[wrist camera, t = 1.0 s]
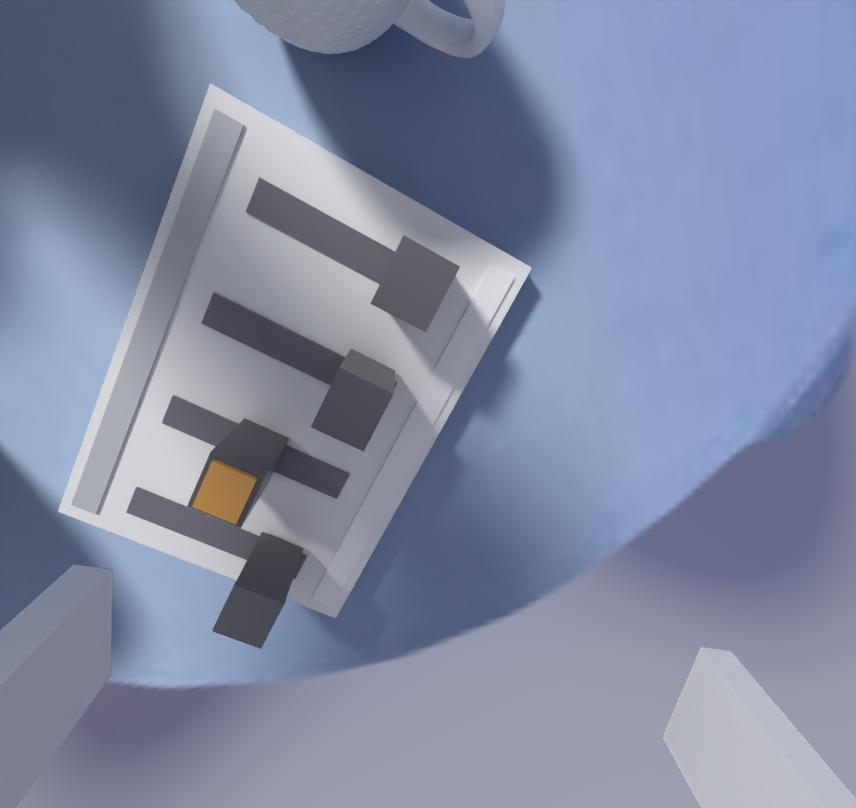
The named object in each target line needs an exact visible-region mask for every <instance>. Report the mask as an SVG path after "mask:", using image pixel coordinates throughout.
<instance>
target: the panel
mask: <svg viewBox="0 0 856 808" xmlns="http://www.w3.org/2000/svg"><path fill="white" fill-rule="evenodd" d="M403 235H404V236H406V237H408V238H410V239H411V240H413V241H415V242H417V243H419V244H420V245H422V246H424V247H426V248H428V249H429V250H431V251H433V252H435V253H437V254H438V255H440V256H442V257H444V258H446V259H447V260H449V261H451V262H453V263H455V264H456V265H458V266H460V268H459V270H458V272H457V274H456V276H455V278H454V280H453V281H452V283H451V285H450V287H449V289H448V291H447V293H446V295H445V297H444V299H443V301H442V303H441V304H440V306H439V308H438V310H437V312H436V314H435V316H434V318H433V320H432V322H431V324H430V326H429V327H428V329H427V331H426V332H424V331H422V330H420V329H418V328H416V327H414V326H412V325H410V324H408V323H406V322H405V321H403V320H401V319H399V318H397V317H395V316H393V315H391V314H389V313H387V312H385V311H383V310H381V309H380V308H378V307H376V306H374V305H372V304H370V303H371V301H372V299H373V297H374V295H375V293H376V291H377V289H378V287H379V285H380V283H381V281H382V279H383V276H384V274H385V272H386V270H387V268H388V266H389V264H390V262H391V260H392V258H393V256H394V254H395V252H396V250H397V248H398V245H399V243H400V241H401V239H402V237H403ZM531 269H532V267H530V266H528V265H526V264H525V263H523V262H521V261H519V260H518V259H516V258H514V257H512V256H511V255H509V254H507V253H505V252H504V251H502V250H500V249H498V248H497V247H495V246H493V245H491V244H490V243H488V242H486V241H484V240H483V239H481V238H479V237H477V236H476V235H474V234H472V233H470V232H469V231H467V230H465V229H463V228H462V227H460V226H458V225H456V224H455V223H453V222H451V221H450V220H448V219H446V218H444V217H443V216H441V215H439V214H437V213H436V212H434V211H432V210H430V209H429V208H427V207H425V206H423V205H422V204H420V203H418V202H416V201H415V200H413V199H411V198H409V197H408V196H406V195H404V194H402V193H401V192H399V191H397V190H395V189H394V188H392V187H390V186H388V185H387V184H385V183H383V182H381V181H380V180H378V179H376V178H374V177H373V176H371V175H369V174H368V173H366V172H364V171H362V170H361V169H359V168H357V167H355V166H354V165H352V164H350V163H348V162H347V161H345V160H343V159H341V158H340V157H338V156H336V155H334V154H333V153H331V152H329V151H327V150H326V149H324V148H322V147H320V146H319V145H317V144H315V143H313V142H312V141H310V140H308V139H306V138H305V137H303V136H301V135H299V134H298V133H296V132H294V131H292V130H291V129H289V128H287V127H285V126H284V125H282V124H280V123H279V122H277V121H275V120H273V119H272V118H270V117H268V116H266V115H265V114H263V113H261V112H259V111H258V110H256V109H254V108H252V107H251V106H249V105H247V104H245V103H244V102H242V101H240V100H238V99H237V98H235V97H233V96H231V95H230V94H228V93H226V92H224V91H223V90H221V89H219V88H217V87H216V86H214V85H212V84H210V85H209V88H208V91H207V93H206V96H205V99H204V102H203V105H202V107H201V110H200V113H199V116H198V119H197V122H196V124H195V127H194V130H193V133H192V136H191V138H190V141H189V144H188V147H187V150H186V152H185V155H184V158H183V161H182V164H181V166H180V169H179V172H178V175H177V178H176V181H175V183H174V186H173V189H172V192H171V195H170V197H169V200H168V203H167V206H166V209H165V211H164V214H163V217H162V220H161V223H160V226H159V228H158V231H157V234H156V237H155V240H154V242H153V245H152V248H151V251H150V254H149V256H148V259H147V262H146V265H145V268H144V271H143V273H142V276H141V279H140V282H139V285H138V287H137V290H136V293H135V296H134V299H133V301H132V304H131V307H130V310H129V313H128V315H127V318H126V321H125V324H124V327H123V330H122V332H121V335H120V338H119V341H118V344H117V346H116V349H115V352H114V355H113V358H112V360H111V363H110V366H109V369H108V372H107V375H106V377H105V380H104V383H103V386H102V389H101V391H100V394H99V397H98V400H97V403H96V405H95V408H94V411H93V414H92V417H91V419H90V422H89V425H88V428H87V431H86V434H85V436H84V439H83V442H82V445H81V448H80V450H79V453H78V456H77V459H76V462H75V464H74V467H73V470H72V473H71V476H70V479H69V481H68V484H67V487H66V490H65V493H64V495H63V498H62V501H61V504H60V507H59V509H58V512H60V513H63V514H65V515H68V516H71V517H73V518H76V519H78V520H81V521H84V522H86V523H89V524H91V525H94V526H97V527H99V528H102V529H104V530H107V531H110V532H112V533H115V534H117V535H120V536H123V537H125V538H128V539H130V540H133V541H136V542H138V543H141V544H143V545H146V546H149V547H151V548H154V549H156V550H159V551H162V552H164V553H167V554H169V555H172V556H175V557H177V558H180V559H182V560H185V561H188V562H190V563H193V564H195V565H198V566H201V567H203V568H206V569H208V570H211V571H214V572H216V573H219V574H221V575H224V576H227V577H229V578H232V579H234V580H237V579H238V577H239V575H240V573H241V571H242V569H243V567H244V565H245V563H246V562H247V560H248V558H249V556H250V554H251V552H252V550H253V548H254V546H255V544H256V542H257V541H258V539H259V537H260V535H261V533H262V532H264V533H267V534H269V535H272V536H274V537H277V538H279V539H281V540H284V541H286V542H289V543H291V544H294V545H296V546H299V547H301V548H304V549H303V552H302V554H301V557H300V560H299V563H298V566H297V569H296V572H295V575H294V577H293V580H292V583H291V586H290V589H289V592H288V595H287V598H286V600H289V601H291V602H294V603H297V604H299V605H302V606H304V607H307V608H310V609H312V610H315V611H317V612H320V613H323V614H325V615H328V616H330V617H333V618H336V617H337V615H338V614H339V612H340V610H341V608H342V606H343V605H344V603H345V601H346V599H347V597H348V596H349V594H350V592H351V590H352V588H353V587H354V585H355V583H356V581H357V580H358V578H359V576H360V574H361V572H362V571H363V569H364V567H365V565H366V563H367V562H368V560H369V558H370V556H371V555H372V553H373V551H374V549H375V547H376V546H377V544H378V542H379V540H380V538H381V537H382V535H383V533H384V531H385V530H386V528H387V526H388V524H389V522H390V521H391V519H392V517H393V515H394V513H395V512H396V510H397V508H398V506H399V505H400V503H401V501H402V499H403V497H404V496H405V494H406V492H407V490H408V488H409V487H410V485H411V483H412V481H413V479H414V478H415V476H416V474H417V472H418V471H419V469H420V467H421V465H422V463H423V462H424V460H425V458H426V456H427V454H428V453H429V451H430V449H431V447H432V446H433V444H434V442H435V440H436V438H437V437H438V435H439V433H440V431H441V429H442V428H443V426H444V424H445V422H446V421H447V419H448V417H449V415H450V413H451V412H452V410H453V408H454V406H455V404H456V403H457V401H458V399H459V397H460V396H461V394H462V392H463V390H464V388H465V387H466V385H467V383H468V381H469V379H470V378H471V376H472V374H473V372H474V371H475V369H476V367H477V365H478V363H479V362H480V360H481V358H482V356H483V354H484V353H485V351H486V349H487V347H488V345H489V344H490V342H491V340H492V338H493V337H494V335H495V333H496V331H497V329H498V328H499V326H500V324H501V322H502V320H503V319H504V317H505V315H506V313H507V312H508V310H509V308H510V306H511V304H512V303H513V301H514V299H515V297H516V295H517V294H518V292H519V290H520V288H521V287H522V285H523V283H524V281H525V279H526V278H527V276H528V274H529V272H530V270H531ZM350 349H353V350H355V351H357V352H359V353H361V354H363V355H365V356H367V357H369V358H371V359H373V360H375V361H377V362H379V363H381V364H383V365H385V366H387V367H389V368H391V369H393V370H395V383H394V395H393V396H392V398H391V400H390V402H389V404H388V406H387V408H386V410H385V412H384V414H383V416H382V418H381V419H380V421H379V423H378V425H377V427H376V429H375V431H374V433H373V435H372V437H371V439H370V441H369V442H368V444H367V446H366V448H365V450H364V452H363V451H361V450H359V449H357V448H355V447H353V446H350V445H348V444H346V443H344V442H342V441H339V440H337V439H335V438H333V437H331V436H329V435H326V434H324V433H322V432H320V431H318V430H315V429H313V428H311V425H312V423H313V421H314V419H315V417H316V415H317V413H318V411H319V409H320V407H321V405H322V403H323V400H324V398H325V396H326V394H327V392H328V390H329V388H330V386H331V384H332V382H333V380H334V378H335V376H336V374H337V372H338V369H339V367H340V366H341V364H342V362H343V361H344V359H345V358H346V356H347V354H348V353H349V351H350ZM244 418H246V419H248V420H250V421H252V422H254V423H257V424H259V425H261V426H263V427H266V428H268V429H270V430H272V431H274V432H277V433H279V434H281V435H283V436H286V437H288V438H290V439H289V441H288V443H287V445H286V447H285V449H284V451H283V453H282V455H281V458H280V460H279V462H278V464H277V466H276V468H275V470H274V472H273V474H272V476H271V479H270V481H269V483H268V485H267V486H266V488H265V489H264V491H263V493H262V494H261V496H260V498H259V499H258V501H257V503H256V504H255V506H254V507H253V509H252V511H251V512H250V514H249V516H248V517H247V519H246V521H245V522H244V524H243V525H242V527H241V528H239V527H236V526H234V525H231V524H229V523H226V522H224V521H221V520H219V519H216V518H214V517H211V516H209V515H207V514H204V513H202V512H199V511H197V510H194V509H192V508H189V507H187V505H188V503H189V500H190V498H191V496H192V493H193V491H194V489H195V487H196V484H197V482H198V480H199V477H200V475H201V473H202V470H203V468H204V466H205V463H206V461H207V459H208V456H209V454H210V452H211V451H212V450H213V449H214V448H215V447H216V446H217V445H218V444H219V443H220V442H221V441H222V440H223V439H224V438H225V437H226V436H227V435H228V434H229V433H230V432H231V431H232V430H233V429H234V428H235V427H236V426H237V425H238V424H239V423H240V422H241V421H242V420H243V419H244Z"/></svg>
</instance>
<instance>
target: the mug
mask: <svg viewBox="0 0 856 808" xmlns="http://www.w3.org/2000/svg"><path fill="white" fill-rule="evenodd" d="M235 1H236V2H237V4H238V5H239V7H240V8H241V9H242V10H244V11H245V12H247V13H249V14H250V15H251V16H252V17H253V19H254V20H255V21H256V22H257V23H259V24H260V25H263V26H265V27H266V28H267V30H268V31H269V32H271V33H273V34H275V35H278V36H279V37H280V38H281V39H282V40H285V41H286V42H287V43H292V44H293V45H294V46H297V47H299V48H301V49H306V50H308V51H310V52H318V53H322V54H333V53H336V54H341V53H343V52H346V53H347V52H349V51H355V50H357V49H358V48H361V47H363V46H365V45H368V44H370V43H371V42H372V41H373V40H376V39H377V38H378V37H379V36H381V35H382V34H383V33H385V31H386V30H388V29H389V28H390V27H391V25H392V24H395V25H396V26H398V27H399V28H401V29H402V30H404V31H406V32H407V33H409V34H411V35H412V36H414V37H416V38H417V39H419V40H420V41H422V42H423V43H425V44H427V45H429V46H431V47H433V48H435V49H437V50H439V51H441V52H444V53H446V54H449V55H452V56H456V57H460V58H471V57H474V56H476V55H478V54H480V53H481V52H482V51H484V50H485V49H486V48H487V46H488V45H489V44H490V43H491V41H492V40H493V39H494V37H495V35H496V33H497V32H498V29H499V27H500V25H501V22H502V19H503V15H504V8H505V0H463V1H464V2H465V4H466V6H467V8H468V10H469V12H470V15H471V18H472V19H467V18H462V17H459V16H457V15H454V14H452V13H450V12H447V11H445V10H443V9H441V8H440V7H438V6H436V5H435V4H433V3H432V2H431V1H429V0H235Z"/></svg>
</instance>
